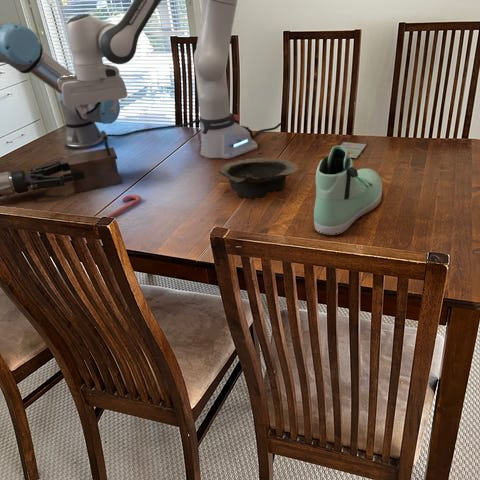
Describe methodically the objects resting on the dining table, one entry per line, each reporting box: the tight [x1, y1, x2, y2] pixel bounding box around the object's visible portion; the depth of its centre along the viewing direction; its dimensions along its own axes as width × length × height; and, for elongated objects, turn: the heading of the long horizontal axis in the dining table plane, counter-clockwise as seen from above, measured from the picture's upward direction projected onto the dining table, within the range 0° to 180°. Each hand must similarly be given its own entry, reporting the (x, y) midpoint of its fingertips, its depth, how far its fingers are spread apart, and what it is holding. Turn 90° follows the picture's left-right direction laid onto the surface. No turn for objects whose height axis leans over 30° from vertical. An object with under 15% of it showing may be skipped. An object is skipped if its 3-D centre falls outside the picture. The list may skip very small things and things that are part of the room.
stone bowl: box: [217, 157, 299, 201], centre depth 152 cm, size 25×25×9 cm
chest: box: [69, 159, 121, 194], centre depth 165 cm, size 15×10×9 cm, turn 111°
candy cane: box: [106, 194, 142, 218], centre depth 149 cm, size 6×15×2 cm, turn 145°
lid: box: [66, 130, 118, 168], centre depth 161 cm, size 16×10×8 cm, turn 111°
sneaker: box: [313, 145, 383, 236], centre depth 133 cm, size 14×35×20 cm, turn 152°
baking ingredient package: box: [340, 141, 367, 159], centre depth 177 cm, size 9×1×15 cm
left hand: (82, 169), depth 164 cm, fingers closed on chest, 9 cm apart
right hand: (99, 115), depth 157 cm, fingers open, 8 cm apart
